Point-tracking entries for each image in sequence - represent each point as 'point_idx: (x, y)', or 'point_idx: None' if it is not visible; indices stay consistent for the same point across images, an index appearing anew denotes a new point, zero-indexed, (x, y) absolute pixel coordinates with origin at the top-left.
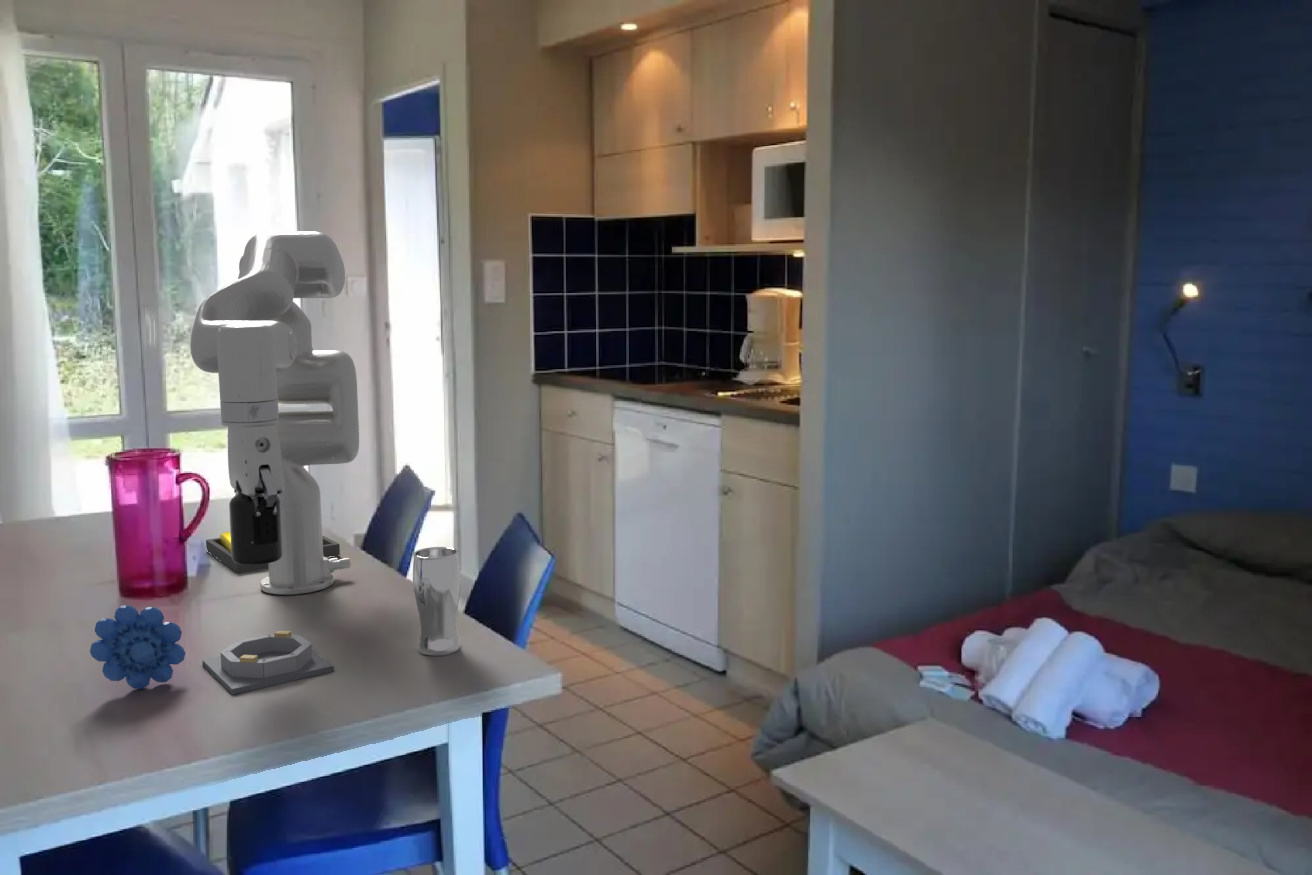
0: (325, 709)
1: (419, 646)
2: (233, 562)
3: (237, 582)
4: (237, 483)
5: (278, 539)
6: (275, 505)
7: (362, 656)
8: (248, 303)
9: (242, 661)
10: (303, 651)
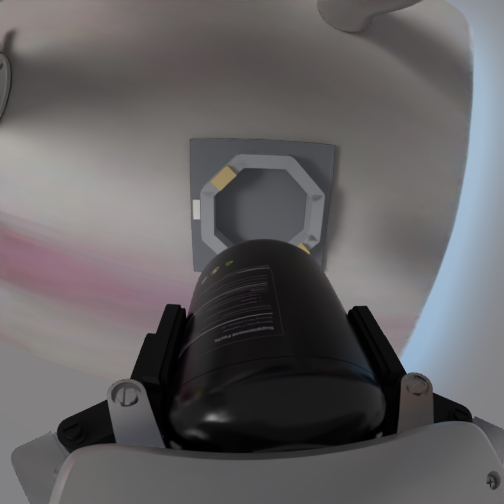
0: (420, 209)
1: (342, 27)
2: None
3: None
4: None
5: (334, 291)
6: (463, 406)
7: (305, 87)
8: None
9: None
10: (311, 178)
